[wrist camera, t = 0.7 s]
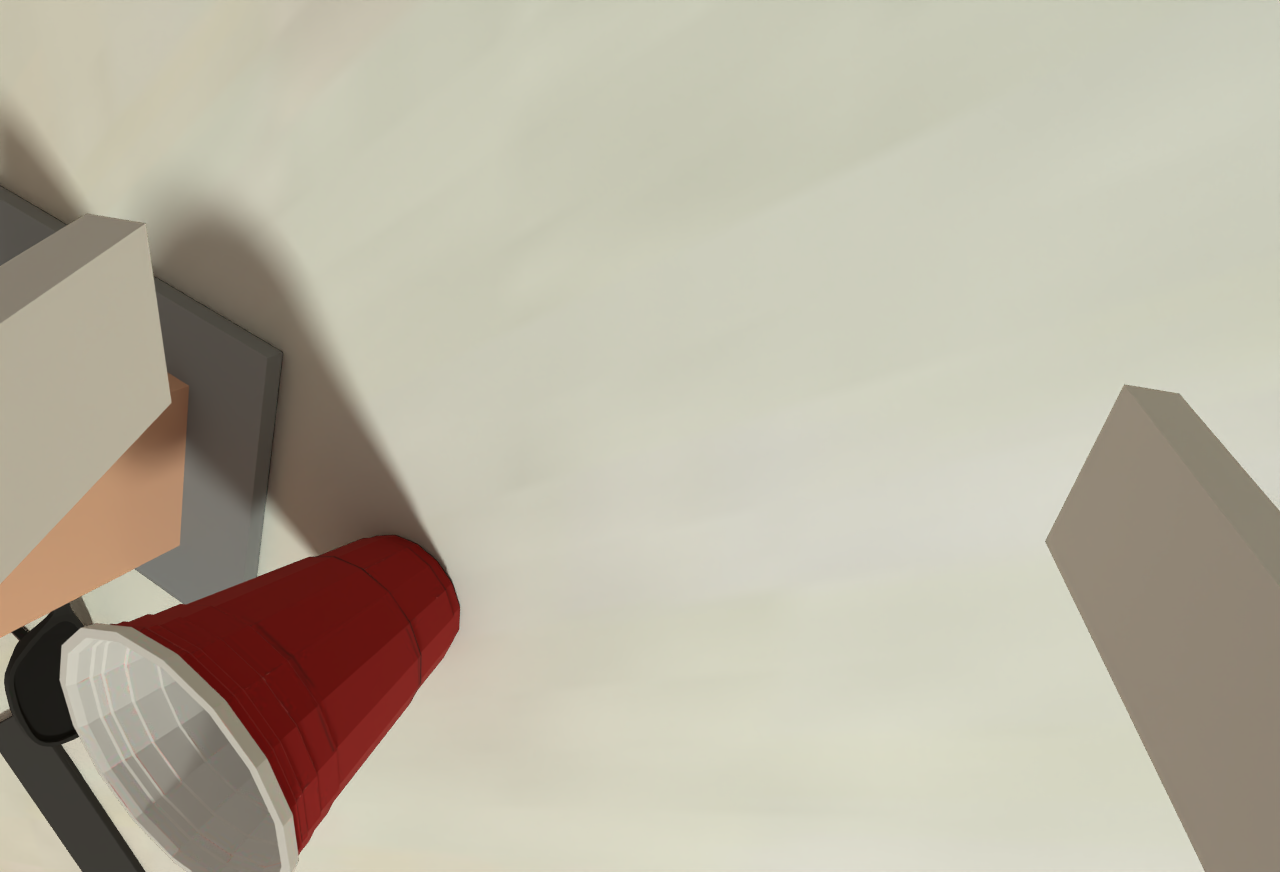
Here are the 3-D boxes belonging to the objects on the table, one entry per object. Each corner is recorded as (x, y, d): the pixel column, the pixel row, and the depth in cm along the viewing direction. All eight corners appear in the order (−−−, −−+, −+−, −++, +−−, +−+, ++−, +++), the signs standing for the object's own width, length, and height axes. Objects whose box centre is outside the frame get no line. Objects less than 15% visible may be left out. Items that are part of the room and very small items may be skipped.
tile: (152, 363, 40) (-134, 454, 31) (189, 385, 40) (-93, 485, 31) (147, 522, 45) (-106, 642, 36) (179, 545, 44) (-69, 673, 35)
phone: (108, 910, 65) (-16, 731, 63) (119, 901, 65) (-3, 723, 64) (157, 900, 60) (26, 708, 59) (168, 890, 61) (39, 700, 60)
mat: (-40, 162, 43) (-58, 164, 42) (283, 352, 38) (267, 357, 37) (-18, 444, 51) (-34, 449, 50) (250, 633, 46) (237, 642, 45)
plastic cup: (274, 566, 43) (13, 721, 33) (374, 428, 37) (91, 567, 27) (430, 744, 42) (211, 957, 32) (558, 633, 36) (337, 853, 26)
